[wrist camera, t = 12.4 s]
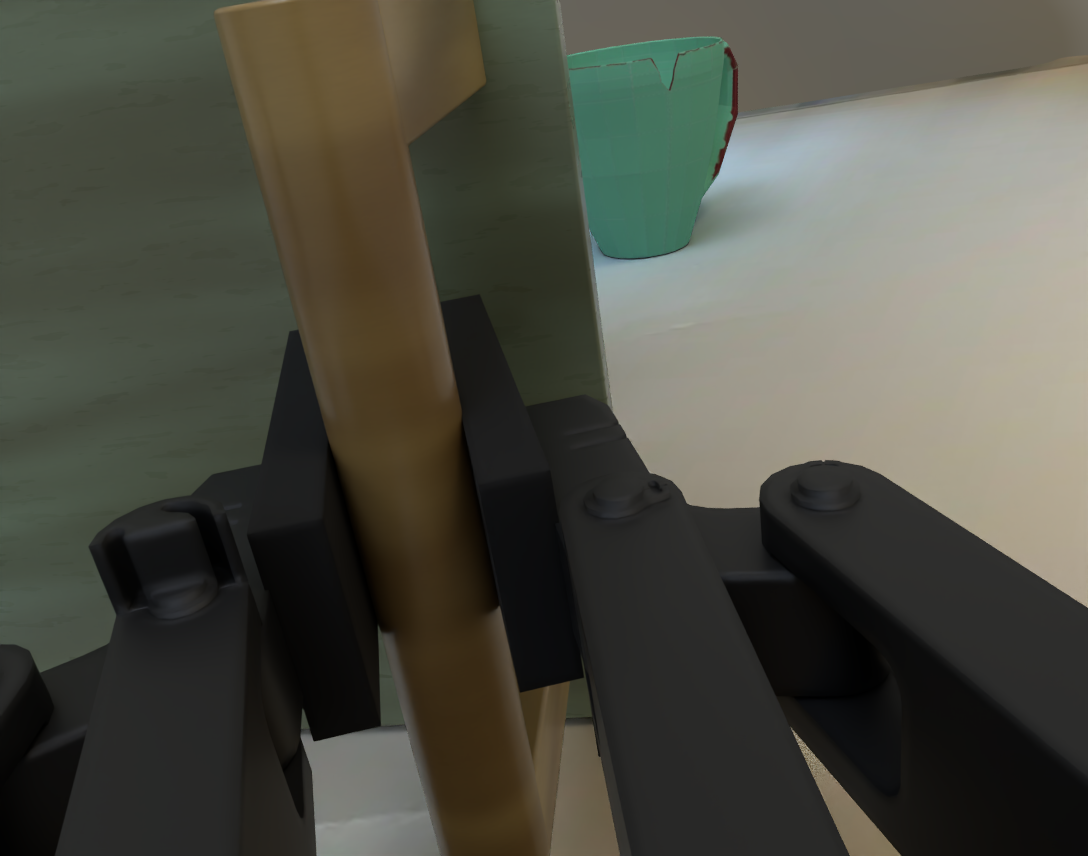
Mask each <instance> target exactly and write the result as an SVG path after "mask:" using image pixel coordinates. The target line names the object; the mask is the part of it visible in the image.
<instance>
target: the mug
mask: <svg viewBox="0 0 1088 856" xmlns="http://www.w3.org/2000/svg"><path fill="white" fill-rule="evenodd" d="M567 61H568V69H569V77H570V84H571V92H572V100H573V108H574V115H575V123H576V131H577V139H578V146H579V154H580V162H581V170H582V177H583V185H584V193H585V201H586V208H587V216H588V224H589V229H590V231H591V232H592V234H593V236H594V238H595V240H596V242H597V243H598V245H599V247H600V249H601V251H602V252H603V254H604V255H607V256H609V257H614V258H645V257H652V256H657V255H663V254H667V253H670V252H674V251H676V250H678V249H681V248H683V247H684V246H686V245H687V244H688V243H689V240H690V236H691V233H692V229H693V226H694V223H695V219H696V216H697V213H698V209H699V206H700V202H701V199H702V197H703V196H704V194H705V193H706V191H707V190H708V188H709V187H710V186H711V184H712V183H713V181H714V180H715V178H716V177H717V176H718V174H719V171H720V168H721V165H722V162H723V158H724V155H725V152H726V149H727V146H728V143H729V140H730V137H731V133H732V130H733V127H734V124H735V121H736V118H737V115H738V65H737V62H736V60H735V58H734V56H733V54H732V52H731V50H730V47H729V45H728V44H727V43H726V42H724V41H723V38H719V37H689V38H675V39H666V40H658V41H649V42H642V43H635V44H628V45H621V46H615V47H609V48H602V49H597V50H591V51H586V52H581V53H576V54H571V55H567Z"/></svg>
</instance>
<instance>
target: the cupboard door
mask: <svg viewBox="0 0 1088 856" xmlns="http://www.w3.org/2000/svg"><path fill="white" fill-rule="evenodd" d="M478 294H480V296H481V299H482V301H483V304H484V306H485V309H486V311H487V314H488V316H489V319H490V321H491V324H492V326H493V328H494V331H495V333H496V336H497V338H498V341H499V343H500V346H501V348H502V351H503V353H504V356H505V358H506V361H507V363H508V366H509V368H510V371H511V373H512V376H513V378H514V381H515V383H516V386H517V388H518V391H519V393H520V396H521V398H522V401H523V403H524V405H525V407H526V406H530V405H535V404H540V403H545V402H550V401H555V400H560V399H564V398H569V397H574V396H579V395H584V394H586V395H588V396H590V397H592V398H594V399H596V400H598V401H601V402H603V403H605V404H607V405H608V406H609V407H610V409H611V411H612V412H613V410H612V402H611V394H610V386H609V379H608V371H607V363H606V355H605V348H604V340H603V332H602V325H601V317H600V309H599V301H598V294H597V286H596V278H595V270H594V263H593V255H592V247H591V239H590V232H589V224H588V216H587V208H586V201H585V193H584V185H583V177H582V170H581V162H580V154H579V146H578V139H577V131H576V123H575V115H574V108H573V100H572V92H571V84H570V77H569V69H568V61H567V54H566V46H565V38H564V30H563V23H562V15H561V7H560V0H0V644H16V645H18V646H20V647H22V648H25V649H27V650H29V651H30V653H31V655H32V657H33V659H34V661H35V663H36V666H37V668H38V670H39V672H40V673H41V672H43V671H46V670H48V669H51V668H53V667H55V666H58V665H60V664H63V663H65V662H68V661H70V660H73V659H75V658H78V657H80V656H83V655H85V654H87V653H89V652H92V651H94V650H96V649H98V648H100V647H102V646H104V645H106V644H108V643H109V642H110V639H111V635H112V631H113V627H114V623H115V619H116V613H115V611H114V608H113V606H112V604H111V601H110V599H109V596H108V594H107V591H106V589H105V586H104V584H103V582H102V579H101V577H100V574H99V572H98V569H97V567H96V564H95V562H94V560H93V557H92V555H91V552H90V550H89V547H88V546H89V545H90V543H91V542H92V540H93V539H94V537H95V536H96V534H97V533H98V532H99V531H101V530H102V529H103V528H105V527H106V526H107V525H109V524H110V523H111V522H112V521H114V520H115V519H117V518H119V517H121V516H123V515H125V514H127V513H129V512H131V511H133V510H135V509H137V508H139V507H142V506H145V505H148V504H151V503H154V502H157V501H161V500H164V499H169V498H176V497H182V496H188V495H191V494H192V493H193V492H194V491H195V490H196V489H197V488H198V487H200V486H201V485H202V484H203V483H204V482H205V481H206V480H207V479H208V478H209V477H210V476H211V475H212V474H216V473H221V472H225V471H230V470H235V469H240V468H245V467H250V466H254V465H259V464H262V459H263V454H264V449H265V445H266V440H267V435H268V430H269V426H270V421H271V416H272V411H273V407H274V402H275V397H276V392H277V388H278V383H279V378H280V373H281V369H282V364H283V359H284V354H285V350H286V345H287V340H288V335H289V331H293V330H299V334H300V337H301V341H302V345H303V348H304V352H305V356H306V359H307V363H308V367H309V370H310V374H311V378H312V382H313V385H314V389H315V393H316V396H317V400H318V404H319V407H320V411H321V415H322V418H323V422H324V426H325V430H326V433H327V437H328V441H329V444H330V448H331V452H332V455H333V459H334V463H335V466H336V470H337V474H338V478H339V481H340V485H341V489H342V492H343V496H344V500H345V503H346V507H347V511H348V514H349V518H350V522H351V526H352V529H353V533H354V537H355V540H356V544H357V548H358V551H359V555H360V559H361V562H362V566H363V570H364V574H365V577H366V581H367V585H368V588H369V592H370V596H371V599H372V603H373V607H374V611H375V614H376V618H377V622H378V641H379V674H380V708H381V726H393V725H406V729H407V732H408V736H409V740H410V743H411V747H412V751H413V755H414V758H415V762H416V766H417V769H418V773H419V777H420V780H421V784H422V788H423V791H424V795H425V799H426V803H427V806H428V810H429V814H430V817H431V821H432V825H433V828H434V832H435V836H436V839H437V843H438V847H439V851H440V854H441V856H550V849H551V840H552V831H553V823H554V814H555V805H556V797H557V788H558V779H559V771H560V762H561V753H562V745H563V736H564V727H565V719H566V718H585V717H592V712H591V706H590V700H589V694H588V688H587V682H586V676H585V669H584V663H583V660H582V657H581V660H582V667H583V673H584V678H581V679H577V680H573V681H568V682H564V683H560V684H555V685H551V686H547V687H543V688H538V689H534V690H530V691H526V692H521V693H520V691H519V687H518V683H517V678H516V674H515V669H514V665H513V661H512V656H511V652H510V648H509V643H508V639H507V635H506V630H505V626H504V622H503V617H502V613H501V608H500V604H499V599H498V594H497V589H496V584H495V579H494V574H493V569H492V564H491V560H490V555H489V550H488V545H487V540H486V535H485V530H484V525H483V520H482V515H481V510H480V505H479V500H478V495H477V490H476V485H475V480H474V475H473V471H472V466H471V461H470V456H469V451H468V446H467V441H466V436H465V431H464V426H463V421H462V408H461V403H460V398H459V393H458V388H457V384H456V379H455V374H454V369H453V364H452V359H451V354H450V349H449V344H448V339H447V334H446V329H445V324H444V319H443V314H442V309H441V304H440V302H442V301H447V300H453V299H458V298H463V297H468V296H473V295H478ZM301 729H310V728H309V725H308V722H307V719H306V716H305V713H304V710H303V709H302V721H301Z"/></svg>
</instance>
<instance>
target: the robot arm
mask: <svg viewBox="0 0 1088 856" xmlns="http://www.w3.org/2000/svg"><path fill="white" fill-rule="evenodd" d="M440 304H441V309H442V314H443V319H444V324H445V329H446V334H447V339H448V344H449V349H450V354H451V359H452V364H453V369H454V374H455V379H456V384H457V388H458V393H459V398H460V403H461V408H462V421H463V426H464V431H465V436H466V441H467V446H468V451H469V456H470V461H471V466H472V471H473V475H474V480H475V485H476V490H477V495H478V500H479V505H480V510H481V515H482V520H483V525H484V530H485V535H486V540H487V545H488V550H489V555H490V560H491V564H492V569H493V574H494V579H495V584H496V589H497V594H498V599H499V604H500V608H501V613H502V617H503V622H504V626H505V630H506V635H507V639H508V643H509V648H510V652H511V656H512V661H513V665H514V669H515V674H516V678H517V683H518V687H519V691H520V693H521V692H526V691H530V690H534V689H538V688H543V687H547V686H551V685H555V684H560V683H564V682H568V681H573V680H577V679H581V678H584V673H583V667H582V660H583V663H584V669H585V676H586V682H587V688H588V694H589V700H590V706H591V712H592V719H593V725H594V731H595V737H596V743H597V749H598V756H599V757H601V761H602V766H603V771H604V776H605V781H606V786H607V791H608V796H609V801H610V806H611V811H612V817H613V822H614V827H615V832H616V837H617V842H618V847H619V852H620V856H849V853H848V851H847V849H846V847H845V845H844V843H843V840H842V838H841V836H840V834H839V832H838V830H837V827H836V825H835V823H834V821H833V819H832V817H831V814H830V812H829V810H828V808H827V806H826V804H825V801H824V799H823V797H822V795H821V793H820V791H819V788H818V786H817V784H816V782H815V780H814V778H813V775H812V773H811V771H810V769H809V767H808V765H807V762H806V760H805V758H804V756H803V754H802V752H801V749H800V747H799V745H798V743H797V741H796V739H795V737H794V734H793V732H792V730H791V728H792V729H793V730H794V731H795V732H796V734H797V735H798V736H799V737H800V738H801V739H802V741H803V742H804V743H805V744H806V745H807V746H808V748H809V749H810V750H811V751H812V752H813V753H814V755H815V756H816V757H817V758H818V759H819V760H820V762H821V763H822V764H823V765H824V766H825V767H826V768H827V770H828V771H829V772H830V773H831V774H832V775H833V777H834V778H835V779H836V780H837V781H838V782H839V784H840V785H841V786H842V787H843V788H844V789H845V791H846V792H847V793H848V794H849V795H850V796H851V798H852V799H853V800H854V801H855V802H856V803H857V805H858V806H859V807H860V808H861V809H862V810H863V811H864V813H865V814H866V815H867V816H868V817H869V818H870V820H871V821H872V822H873V823H874V824H875V825H876V827H877V828H878V829H879V830H880V831H881V832H882V834H883V835H884V836H885V837H886V838H887V839H888V841H889V842H890V843H891V844H892V845H893V846H894V847H895V849H896V850H897V851H898V852H899V853H900V854H901V856H1088V608H1087V607H1085V606H1084V605H1082V604H1081V603H1079V602H1078V601H1076V600H1075V599H1073V598H1071V597H1070V596H1068V595H1067V594H1065V593H1064V592H1062V591H1061V590H1059V589H1057V588H1056V587H1054V586H1053V585H1051V584H1050V583H1048V582H1047V581H1045V580H1044V579H1042V578H1040V577H1039V576H1037V575H1036V574H1034V573H1033V572H1031V571H1030V570H1028V569H1027V568H1025V567H1023V566H1022V565H1020V564H1019V563H1017V562H1016V561H1014V560H1013V559H1011V558H1009V557H1008V556H1006V555H1005V554H1003V553H1002V552H1000V551H999V550H997V549H996V548H994V547H992V546H991V545H989V544H988V543H986V542H985V541H983V540H982V539H980V538H979V537H977V536H975V535H974V534H972V533H971V532H969V531H968V530H966V529H965V528H963V527H962V526H960V525H958V524H957V523H955V522H954V521H952V520H951V519H949V518H948V517H946V516H944V515H943V514H941V513H940V512H938V511H937V510H935V509H934V508H932V507H931V506H929V505H927V504H926V503H924V502H923V501H921V500H920V499H918V498H917V497H915V496H914V495H912V494H910V493H909V492H907V491H906V490H904V489H903V488H901V487H900V486H898V485H896V484H895V483H893V482H892V481H890V480H889V479H887V478H886V477H884V476H883V475H881V474H879V473H877V472H874V471H872V470H870V469H868V468H865V467H863V466H859V465H854V464H848V463H843V462H840V461H833V460H825V462H822V460H819V461H810V462H807V463H804V464H799V465H794V466H790V467H787V468H785V469H783V470H781V471H779V472H776V473H774V474H772V475H771V476H770V477H769V478H768V479H767V480H766V481H765V482H764V483H763V484H762V485H761V489H760V497H759V501H760V507H759V508H731V509H723V508H705V507H698V506H692V505H688V504H687V503H686V501H685V499H684V496H683V494H682V492H681V490H680V489H679V488H678V487H677V486H676V485H675V484H674V483H673V482H672V481H671V480H668V479H666V478H663V477H661V476H658V475H656V474H650V473H649V471H648V470H647V468H646V466H645V465H644V463H643V461H642V460H641V458H640V457H639V455H638V453H637V452H636V450H635V448H634V447H633V445H632V443H631V442H630V440H629V438H627V437H626V434H625V432H624V430H623V429H622V427H621V425H619V424H618V420H617V419H616V417H615V415H614V414H613V412H612V411H611V409H610V407H609V406H608V405H607V404H605V403H603V402H601V401H598V400H596V399H594V398H592V397H590V396H588V395H586V394H584V395H579V396H574V397H569V398H564V399H560V400H555V401H550V402H545V403H540V404H535V405H530V406H526V407H525V405H524V403H523V401H522V398H521V396H520V393H519V391H518V388H517V386H516V383H515V381H514V378H513V376H512V373H511V371H510V368H509V366H508V363H507V361H506V358H505V356H504V353H503V351H502V348H501V346H500V343H499V341H498V338H497V336H496V333H495V331H494V328H493V326H492V324H491V321H490V319H489V316H488V314H487V311H486V309H485V306H484V304H483V301H482V299H481V296H480V294H478V295H473V296H468V297H463V298H458V299H453V300H447V301H442V302H440ZM88 547H89V550H90V552H91V555H92V557H93V560H94V562H95V564H96V567H97V569H98V572H99V574H100V577H101V579H102V582H103V584H104V586H105V589H106V591H107V594H108V596H109V599H110V601H111V604H112V606H113V608H114V611H115V613H116V619H115V623H114V627H113V631H112V635H111V639H110V642H109V643H108V644H106V645H104V646H102V647H100V648H98V649H96V650H94V651H92V652H89V653H87V654H85V655H83V656H80V657H78V658H75V659H73V660H70V661H68V662H65V663H63V664H60V665H58V666H55V667H53V668H51V669H48V670H46V671H43V672H41V673H40V672H39V670H38V668H37V666H36V663H35V661H34V659H33V657H32V655H31V653H30V651H29V650H27V649H25V648H22V647H20V646H18V645H16V644H0V856H316V838H315V820H314V802H313V783H312V770H311V767H310V764H309V761H308V758H307V755H306V752H305V749H304V746H303V743H302V740H301V737H300V734H301V721H302V709H303V710H304V713H305V716H306V719H307V722H308V725H309V728H310V731H311V734H312V737H313V740H314V741H318V740H322V739H327V738H331V737H335V736H339V735H344V734H348V733H352V732H356V731H361V730H365V729H369V728H373V727H378V726H381V708H380V674H379V641H378V622H377V618H376V614H375V611H374V607H373V603H372V599H371V596H370V592H369V588H368V585H367V581H366V577H365V574H364V570H363V566H362V562H361V559H360V555H359V551H358V548H357V544H356V540H355V537H354V533H353V529H352V526H351V522H350V518H349V514H348V511H347V507H346V503H345V500H344V496H343V492H342V489H341V485H340V481H339V478H338V474H337V470H336V466H335V463H334V459H333V455H332V452H331V448H330V444H329V441H328V437H327V433H326V430H325V426H324V422H323V418H322V415H321V411H320V407H319V404H318V400H317V396H316V393H315V389H314V385H313V382H312V378H311V374H310V370H309V367H308V363H307V359H306V356H305V352H304V348H303V345H302V341H301V337H300V334H299V330H293V331H289V335H288V340H287V345H286V350H285V354H284V359H283V364H282V369H281V373H280V378H279V383H278V388H277V392H276V397H275V402H274V407H273V411H272V416H271V421H270V426H269V430H268V435H267V440H266V445H265V449H264V454H263V459H262V464H259V465H254V466H250V467H245V468H240V469H235V470H230V471H225V472H221V473H216V474H212V475H211V476H210V477H209V478H208V479H207V480H206V481H205V482H204V483H203V484H202V485H201V486H200V487H198V488H197V489H196V490H195V491H194V492H193V493H192V494H191V495H188V496H182V497H176V498H169V499H164V500H161V501H157V502H154V503H151V504H148V505H145V506H142V507H139V508H137V509H135V510H133V511H131V512H129V513H127V514H125V515H123V516H121V517H119V518H117V519H115V520H114V521H112V522H111V523H110V524H109V525H107V526H106V527H105V528H103V529H102V530H101V531H99V532H98V533H97V534H96V536H95V537H94V539H93V540H92V542H91V543H90V545H89V546H88ZM581 657H582V660H581ZM790 727H791V728H790Z"/></svg>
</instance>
